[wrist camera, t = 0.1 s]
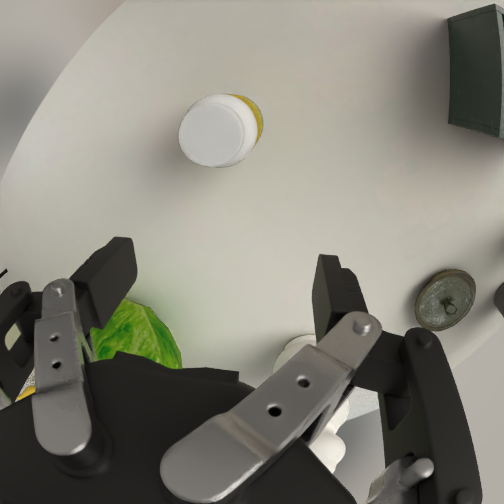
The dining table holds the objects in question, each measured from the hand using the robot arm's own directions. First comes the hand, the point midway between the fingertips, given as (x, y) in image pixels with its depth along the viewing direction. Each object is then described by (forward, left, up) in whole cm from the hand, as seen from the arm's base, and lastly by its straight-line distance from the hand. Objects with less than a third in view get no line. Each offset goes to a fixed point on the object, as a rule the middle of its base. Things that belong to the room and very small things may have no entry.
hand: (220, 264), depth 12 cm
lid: (+30, +11, -21) cm, 39 cm away
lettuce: (+9, -31, -21) cm, 38 cm away
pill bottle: (-5, 0, -21) cm, 22 cm away
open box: (+6, +30, -21) cm, 38 cm away
